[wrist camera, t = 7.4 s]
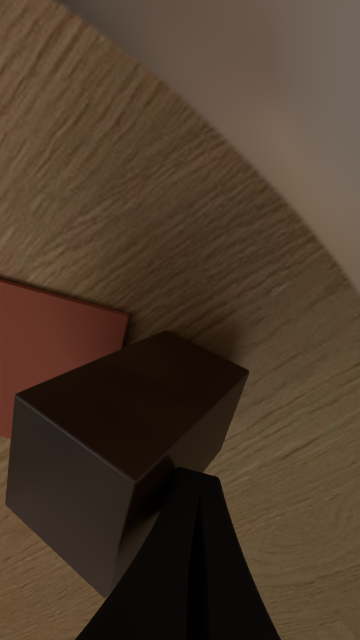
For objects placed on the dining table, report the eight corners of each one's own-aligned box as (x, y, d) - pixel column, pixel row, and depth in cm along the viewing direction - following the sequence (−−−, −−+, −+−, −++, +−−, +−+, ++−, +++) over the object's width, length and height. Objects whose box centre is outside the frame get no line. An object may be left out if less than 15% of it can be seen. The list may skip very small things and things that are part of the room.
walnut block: (250, 370, 15) (136, 482, 8) (220, 449, 16) (104, 600, 9) (165, 329, 16) (13, 393, 10) (146, 404, 18) (4, 505, 11)
